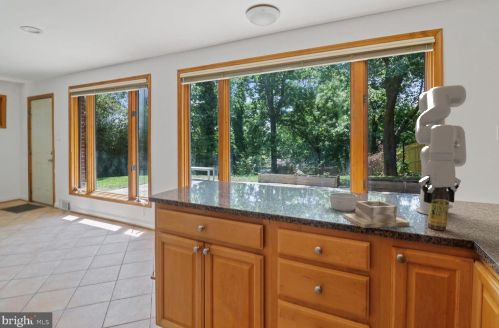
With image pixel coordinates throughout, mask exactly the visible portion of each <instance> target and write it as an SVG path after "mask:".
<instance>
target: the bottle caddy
mask: <svg viewBox="0 0 499 328" xmlns="http://www.w3.org/2000/svg"><path fill="white" fill-rule="evenodd" d="M397 208H398V206H397V205H394V204H392V203H391V204H390V203H389V202H385V201H382V200H362V201H361V200H360V201H358V200H356V207H355V209H354V210H355V211H354V213H344V214H343V218H344V219H345V220H347V221H349V222H351V223H354V224H355V225H357V226H359V227H360V228H362V229H372V228H373V229H374V228H375V229H377V228H389V227H390V228H391V227H392V228H393V227H410V225H411V222H410V221H408V220H406V219H403V218H401V217H398V216H397V211H398V210H397Z"/></svg>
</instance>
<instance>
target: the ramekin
mask: <svg viewBox="0 0 499 328" xmlns="http://www.w3.org/2000/svg"><path fill="white" fill-rule="evenodd" d="M329 198H330V199H329V200H330V201H329V202H330V207H331V208H332V209H333V210H335V211H342V212H350V211H351V212H352V211H354V210H356V201H358V195H357V194H354V193H348V192H332V193H329Z"/></svg>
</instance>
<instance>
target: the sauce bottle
mask: <svg viewBox="0 0 499 328" xmlns="http://www.w3.org/2000/svg"><path fill="white" fill-rule="evenodd" d="M447 191H448V190H447V187H442V188H435V189H434V190H433V192H432V203H430V205H429V215H427V216H428V218H427V223H428V224H427V226H428V228H429V229H432V230H435V231H445V230H446V229H447V226H448V217H449V205H450V202H449V194H448V192H447Z"/></svg>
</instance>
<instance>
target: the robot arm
mask: <svg viewBox="0 0 499 328" xmlns="http://www.w3.org/2000/svg"><path fill="white" fill-rule="evenodd" d="M466 98H467V91H466V88H465V87H464V86H463V85H461V84H458V85H457V84H455V85H443V86H442V85H441V86H434V87H432V88H430V89H429V90H428V91H424V92H423V93H420V95H419V97H418V108H419V112H420V115H419V117H418V118H417V119H416V122H415V125H414V126H415V129H414V132H415V135H414V136H415V140H416V142H417V143H418V144H420V145H427V146H424V147H422V148H421V150H420V153H419V155H420V156H419V157H420V164H421V179H420V180H418V184H419V187H420V201H419V203H420V204H419V207H416V209H415V211H416V212H417V213H420V214H423V215H427V216H428V215H429V205H430V203H432V192H433V190H434V189H435V188H442V187H447V192H448V194H449V209H450V210H451V209H453V208H454V206H453V204H452V203H455V196H456V195H455V194H456V192H457V190H458V188H459V187H460V185H461V183H462V180H461V179H459V178H458V177H456V167H457V168H459V167H463V166H464V165H465V164H466V163H467V145H466V144H467V142H466V141H467V140H466V132H465V129H464V128H463V127H462V126H460V125H452V124H445V119H446V118H448V117H449V116H450V114H451V111H452V108H458V107H460V106H462V105H464V103H465V102H466ZM450 203H451V204H450Z"/></svg>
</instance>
